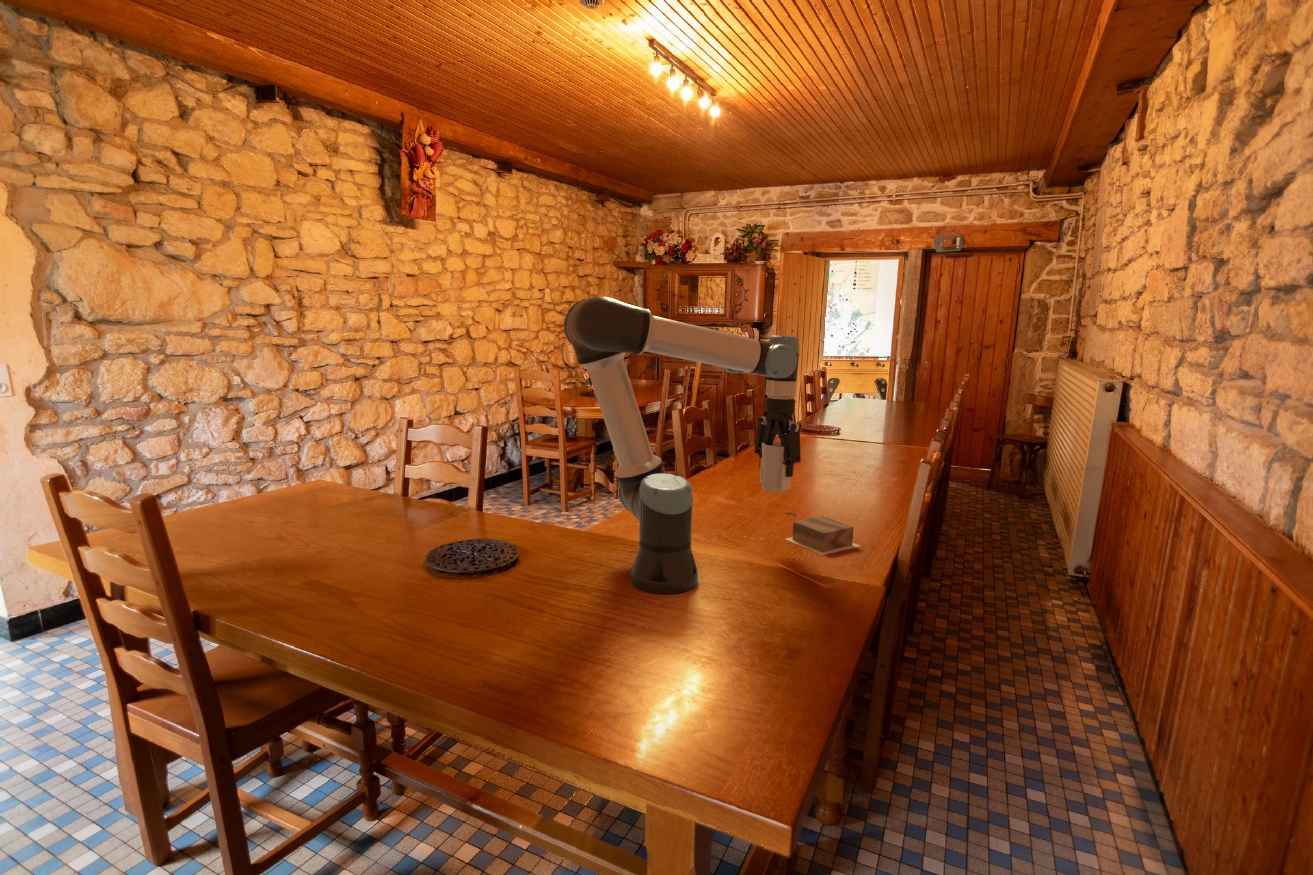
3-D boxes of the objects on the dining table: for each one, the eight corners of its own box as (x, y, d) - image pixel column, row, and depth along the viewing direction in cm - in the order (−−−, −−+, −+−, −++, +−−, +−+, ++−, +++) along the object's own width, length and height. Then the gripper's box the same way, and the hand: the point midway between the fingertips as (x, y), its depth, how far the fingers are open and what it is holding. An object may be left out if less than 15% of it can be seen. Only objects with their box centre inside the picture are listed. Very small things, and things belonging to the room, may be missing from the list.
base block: (822, 552, 157) (824, 533, 156) (792, 539, 166) (793, 521, 166) (852, 545, 163) (853, 526, 162) (821, 533, 172) (822, 516, 171)
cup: (781, 495, 154) (785, 448, 152) (753, 489, 159) (756, 443, 157) (795, 489, 160) (798, 444, 158) (767, 484, 165) (770, 440, 163)
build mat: (822, 557, 155) (823, 554, 155) (784, 540, 167) (784, 538, 167) (860, 547, 162) (860, 545, 162) (821, 532, 174) (821, 530, 174)
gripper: (821, 401, 149) (813, 492, 153) (765, 393, 166) (759, 475, 170) (798, 402, 145) (791, 496, 149) (743, 393, 162) (738, 478, 166)
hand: (774, 485), depth 159 cm, fingers closed on cup, 7 cm apart
